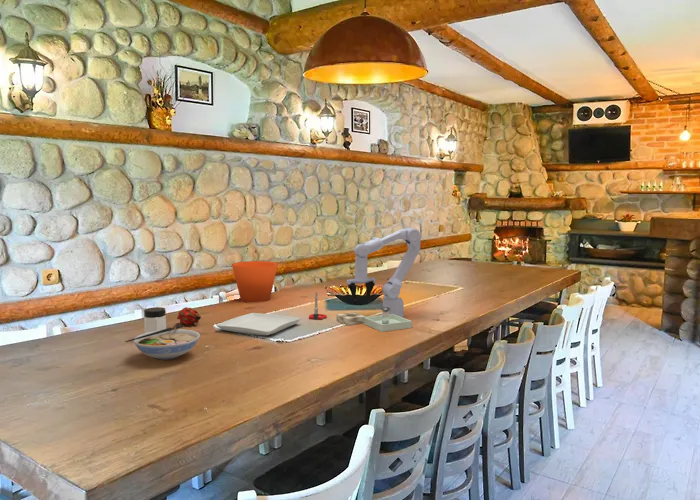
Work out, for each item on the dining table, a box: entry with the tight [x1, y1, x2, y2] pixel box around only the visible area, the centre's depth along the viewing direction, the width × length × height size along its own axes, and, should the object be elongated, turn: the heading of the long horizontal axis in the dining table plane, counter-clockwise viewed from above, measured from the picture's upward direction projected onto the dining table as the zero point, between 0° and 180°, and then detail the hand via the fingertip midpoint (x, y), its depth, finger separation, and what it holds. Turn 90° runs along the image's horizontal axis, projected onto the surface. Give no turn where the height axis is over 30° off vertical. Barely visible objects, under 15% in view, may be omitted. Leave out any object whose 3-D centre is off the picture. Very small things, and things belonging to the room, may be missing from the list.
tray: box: [363, 314, 413, 333], centre depth 243 cm, size 16×16×3 cm
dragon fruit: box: [176, 306, 202, 327], centre depth 243 cm, size 8×8×12 cm
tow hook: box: [308, 291, 328, 321], centre depth 259 cm, size 8×13×9 cm
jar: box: [143, 306, 167, 333], centre depth 220 cm, size 9×8×12 cm
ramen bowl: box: [124, 324, 201, 361], centre depth 196 cm, size 25×23×8 cm
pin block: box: [336, 311, 367, 326], centre depth 250 cm, size 10×10×3 cm
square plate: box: [215, 312, 302, 336], centre depth 238 cm, size 27×27×4 cm
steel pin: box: [380, 306, 390, 324], centre depth 243 cm, size 4×4×7 cm
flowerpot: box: [231, 260, 279, 303], centre depth 300 cm, size 25×25×20 cm
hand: (361, 298), depth 257 cm, fingers open, 7 cm apart
